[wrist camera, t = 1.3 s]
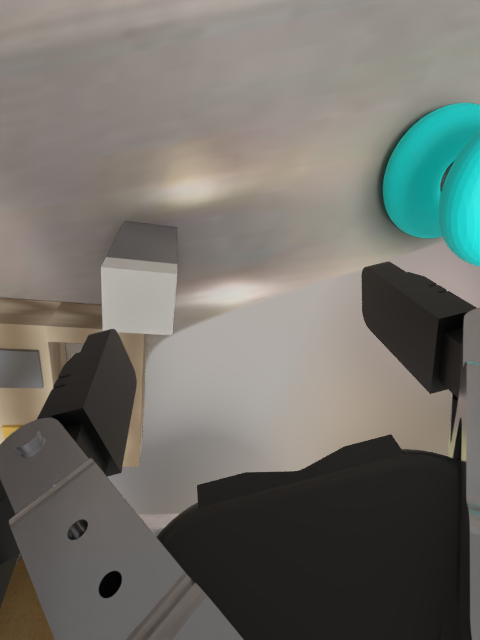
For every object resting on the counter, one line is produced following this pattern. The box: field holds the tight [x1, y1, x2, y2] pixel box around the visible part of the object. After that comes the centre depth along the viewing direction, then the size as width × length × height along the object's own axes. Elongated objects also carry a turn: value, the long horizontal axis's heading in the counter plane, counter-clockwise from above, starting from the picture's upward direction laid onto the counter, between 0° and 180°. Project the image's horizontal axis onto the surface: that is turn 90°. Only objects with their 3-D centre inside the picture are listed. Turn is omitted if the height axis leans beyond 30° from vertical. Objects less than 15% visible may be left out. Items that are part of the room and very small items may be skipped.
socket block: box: [0, 298, 147, 467], centre depth 31 cm, size 12×16×4 cm
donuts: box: [383, 103, 480, 266], centre depth 25 cm, size 10×10×10 cm
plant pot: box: [0, 557, 55, 640], centre depth 40 cm, size 15×15×16 cm
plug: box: [101, 221, 177, 335], centre depth 24 cm, size 4×4×10 cm
